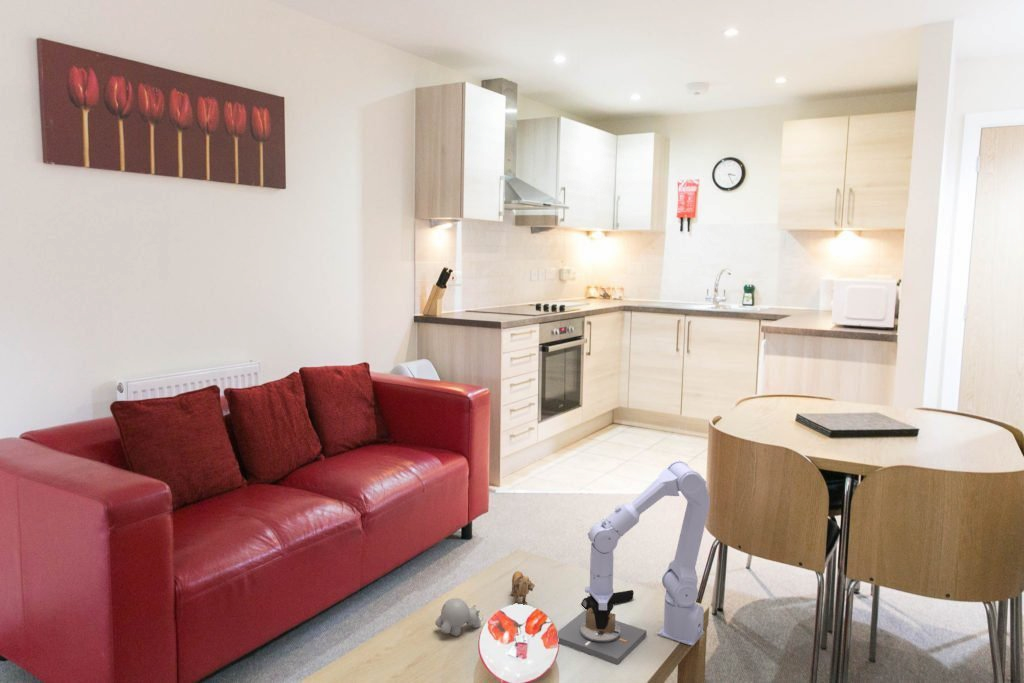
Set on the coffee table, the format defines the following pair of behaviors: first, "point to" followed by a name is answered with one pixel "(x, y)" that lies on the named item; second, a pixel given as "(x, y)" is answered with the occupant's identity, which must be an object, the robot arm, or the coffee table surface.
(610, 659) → the dial base
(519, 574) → the lion figurine
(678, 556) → the robot arm
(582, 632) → the dial
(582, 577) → the coffee table surface
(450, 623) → the chubby cartoon animal
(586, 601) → the electric trimmer
